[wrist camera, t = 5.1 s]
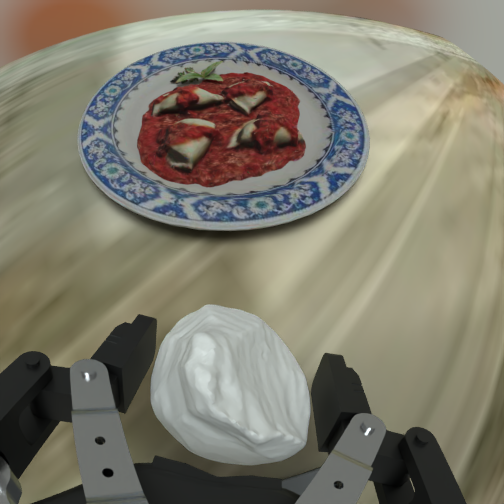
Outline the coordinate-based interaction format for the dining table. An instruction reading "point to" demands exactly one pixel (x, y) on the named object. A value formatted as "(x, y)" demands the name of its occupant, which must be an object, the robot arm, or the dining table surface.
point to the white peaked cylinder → (230, 388)
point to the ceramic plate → (223, 137)
